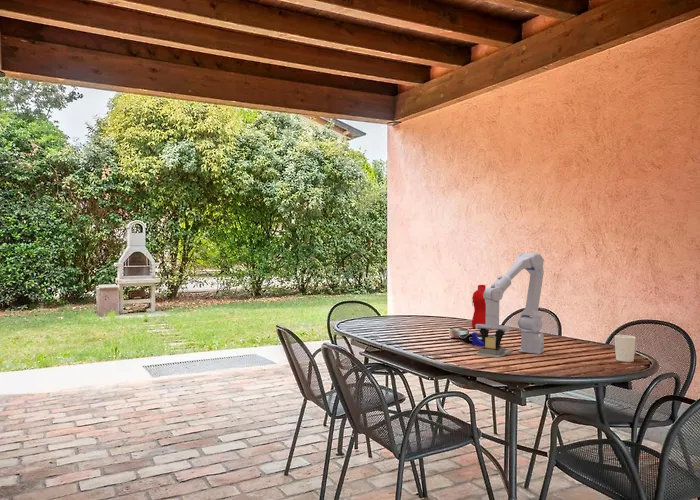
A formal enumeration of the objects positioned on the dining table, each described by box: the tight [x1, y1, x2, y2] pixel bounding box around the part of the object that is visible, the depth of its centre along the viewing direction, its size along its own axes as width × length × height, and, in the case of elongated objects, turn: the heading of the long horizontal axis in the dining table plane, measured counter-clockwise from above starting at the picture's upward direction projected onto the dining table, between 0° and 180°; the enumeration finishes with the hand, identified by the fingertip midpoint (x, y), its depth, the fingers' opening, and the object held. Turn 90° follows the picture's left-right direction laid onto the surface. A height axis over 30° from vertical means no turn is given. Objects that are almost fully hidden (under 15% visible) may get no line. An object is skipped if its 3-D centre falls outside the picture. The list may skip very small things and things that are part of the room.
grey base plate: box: [476, 346, 514, 359], centre depth 247 cm, size 10×18×3 cm, turn 146°
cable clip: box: [471, 331, 496, 347], centre depth 266 cm, size 12×4×6 cm, turn 65°
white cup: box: [614, 334, 636, 363], centre depth 235 cm, size 8×8×10 cm
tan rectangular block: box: [485, 335, 499, 350], centre depth 244 cm, size 4×4×6 cm
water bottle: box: [471, 284, 487, 329], centre depth 324 cm, size 9×11×25 cm
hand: (491, 346), depth 244 cm, fingers closed on tan rectangular block, 5 cm apart
